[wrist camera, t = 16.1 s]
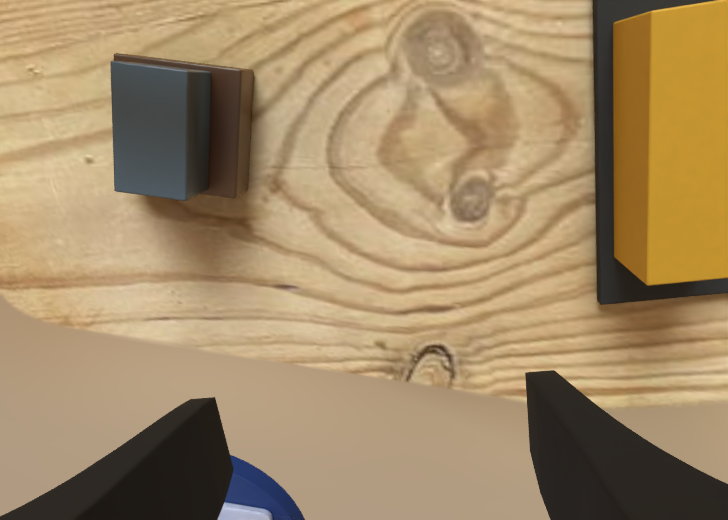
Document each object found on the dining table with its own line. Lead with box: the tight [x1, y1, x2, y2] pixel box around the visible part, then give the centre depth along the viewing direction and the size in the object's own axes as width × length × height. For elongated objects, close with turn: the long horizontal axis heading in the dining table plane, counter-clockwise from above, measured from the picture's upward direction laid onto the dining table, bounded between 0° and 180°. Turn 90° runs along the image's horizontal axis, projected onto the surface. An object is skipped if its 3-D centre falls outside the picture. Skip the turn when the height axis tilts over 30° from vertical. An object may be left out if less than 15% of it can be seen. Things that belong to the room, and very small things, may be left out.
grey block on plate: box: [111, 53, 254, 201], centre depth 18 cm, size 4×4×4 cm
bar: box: [613, 0, 728, 286], centre depth 17 cm, size 8×3×3 cm, turn 8°
